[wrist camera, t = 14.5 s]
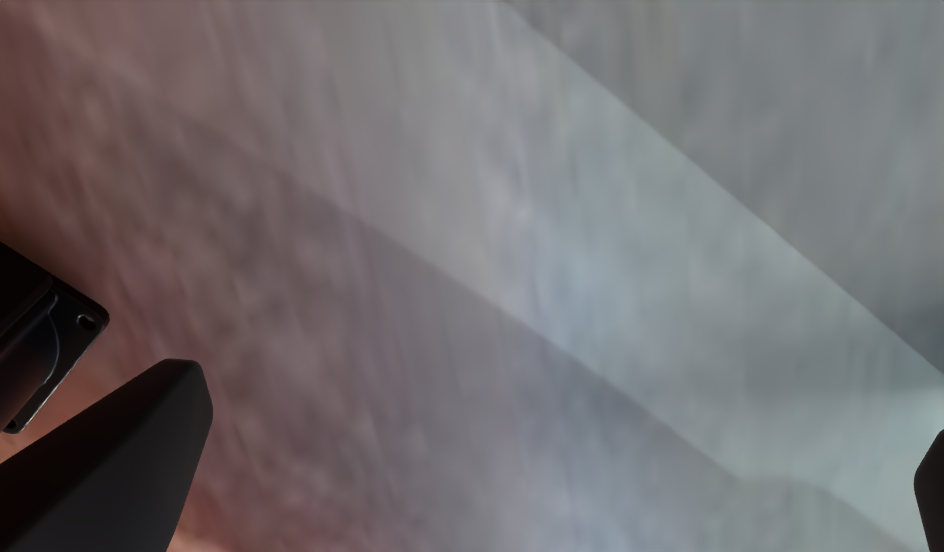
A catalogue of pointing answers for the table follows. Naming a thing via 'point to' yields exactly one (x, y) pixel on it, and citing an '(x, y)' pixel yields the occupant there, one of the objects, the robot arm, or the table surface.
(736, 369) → the table surface
